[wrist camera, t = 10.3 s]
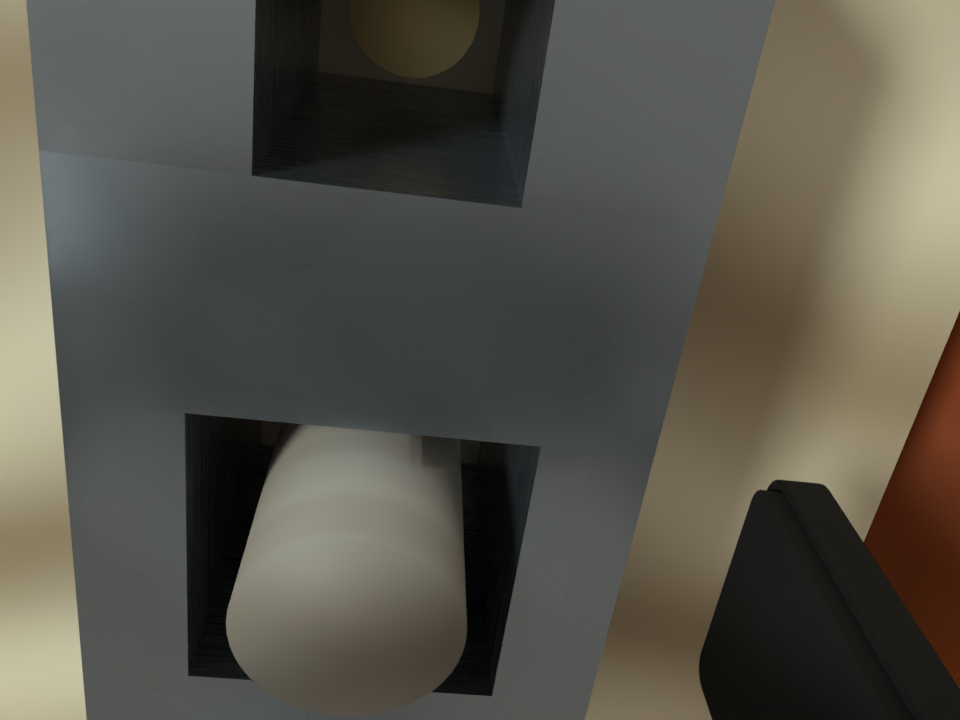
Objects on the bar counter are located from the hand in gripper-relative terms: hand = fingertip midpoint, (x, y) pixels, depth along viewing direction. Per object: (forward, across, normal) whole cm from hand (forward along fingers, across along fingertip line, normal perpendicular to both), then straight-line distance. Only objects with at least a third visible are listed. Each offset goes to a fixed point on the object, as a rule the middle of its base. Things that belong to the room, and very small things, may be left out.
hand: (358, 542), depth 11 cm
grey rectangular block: (+4, 0, 0) cm, 4 cm away
